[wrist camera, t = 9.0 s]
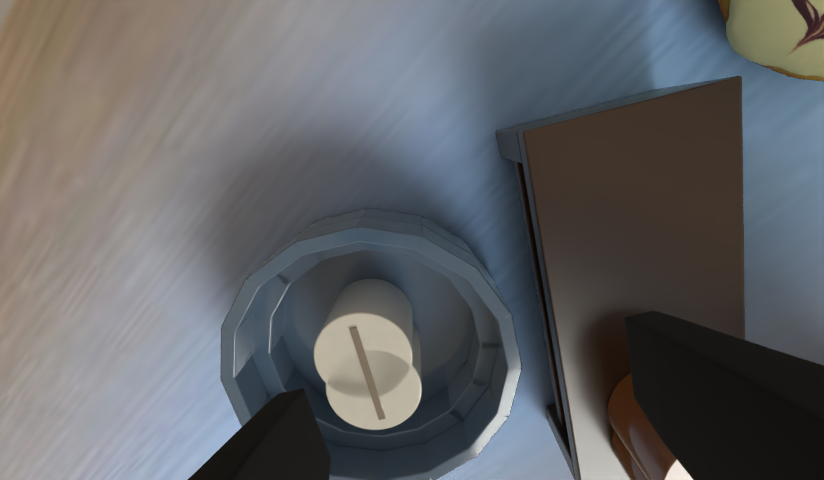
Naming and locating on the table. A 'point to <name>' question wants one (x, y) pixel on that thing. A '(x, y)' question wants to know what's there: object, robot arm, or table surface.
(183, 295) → the table surface
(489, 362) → the bowl
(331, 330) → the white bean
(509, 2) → the table surface
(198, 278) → the table surface
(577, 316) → the rack
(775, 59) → the decorated donut
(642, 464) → the brown rounded block
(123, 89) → the table surface
